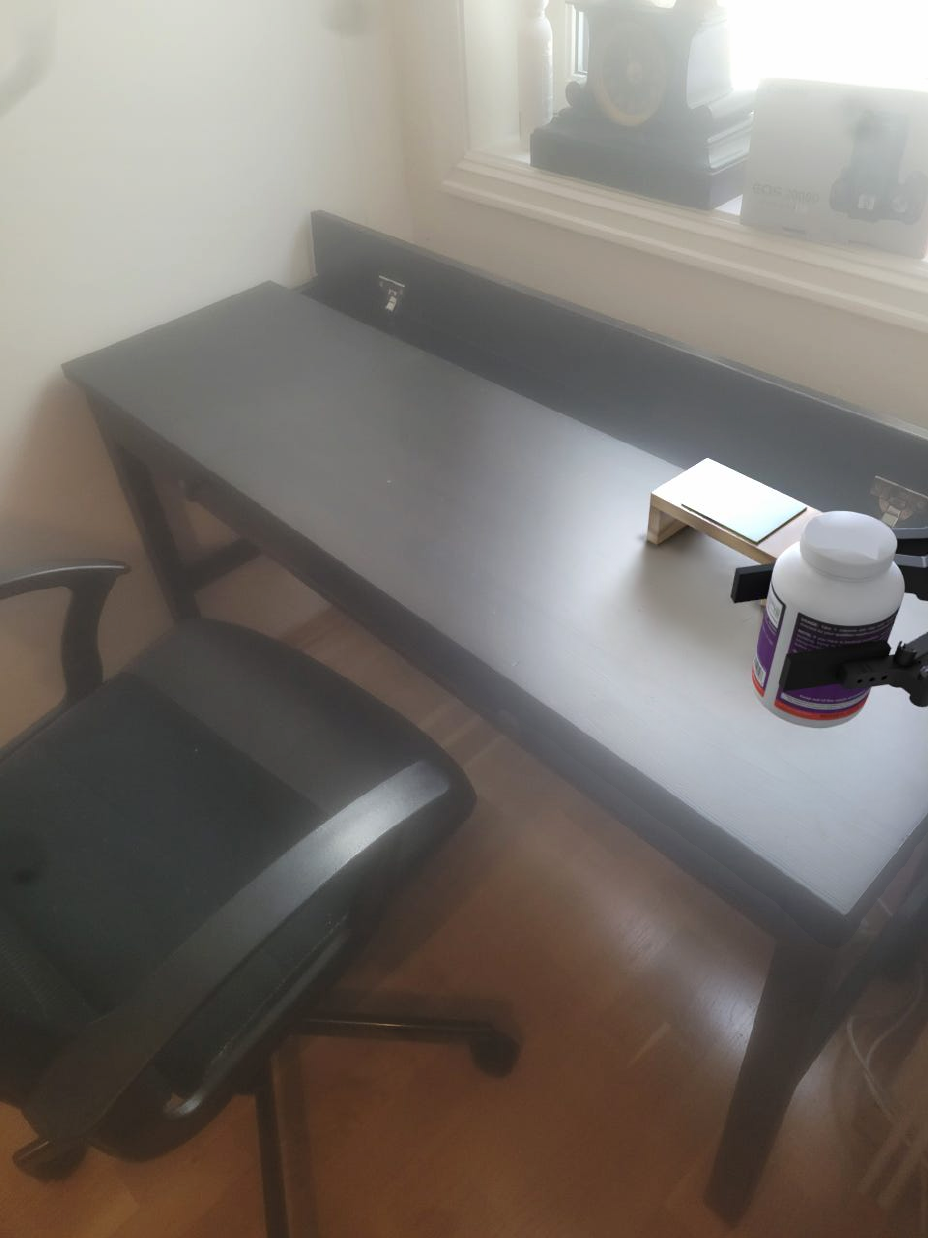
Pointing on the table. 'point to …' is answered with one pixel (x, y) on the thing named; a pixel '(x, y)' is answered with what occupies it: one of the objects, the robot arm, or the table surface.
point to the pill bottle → (826, 611)
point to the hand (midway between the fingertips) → (758, 627)
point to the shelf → (728, 512)
